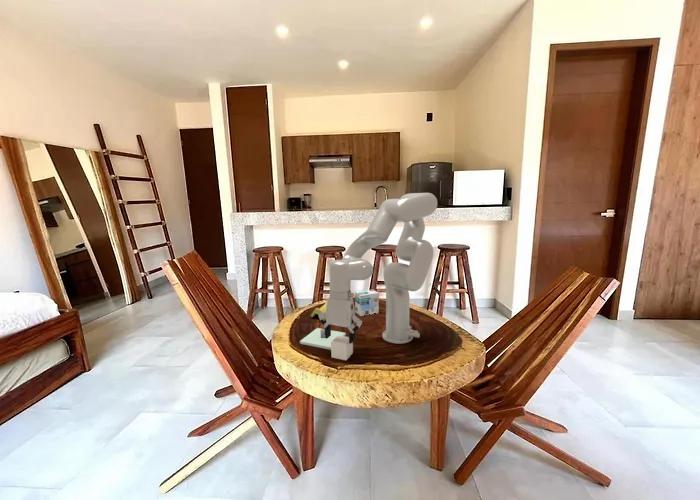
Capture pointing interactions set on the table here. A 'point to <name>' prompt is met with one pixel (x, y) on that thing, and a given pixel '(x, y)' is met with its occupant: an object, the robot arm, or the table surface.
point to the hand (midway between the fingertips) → (339, 339)
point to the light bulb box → (366, 302)
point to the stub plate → (320, 338)
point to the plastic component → (319, 310)
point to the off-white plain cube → (341, 348)
